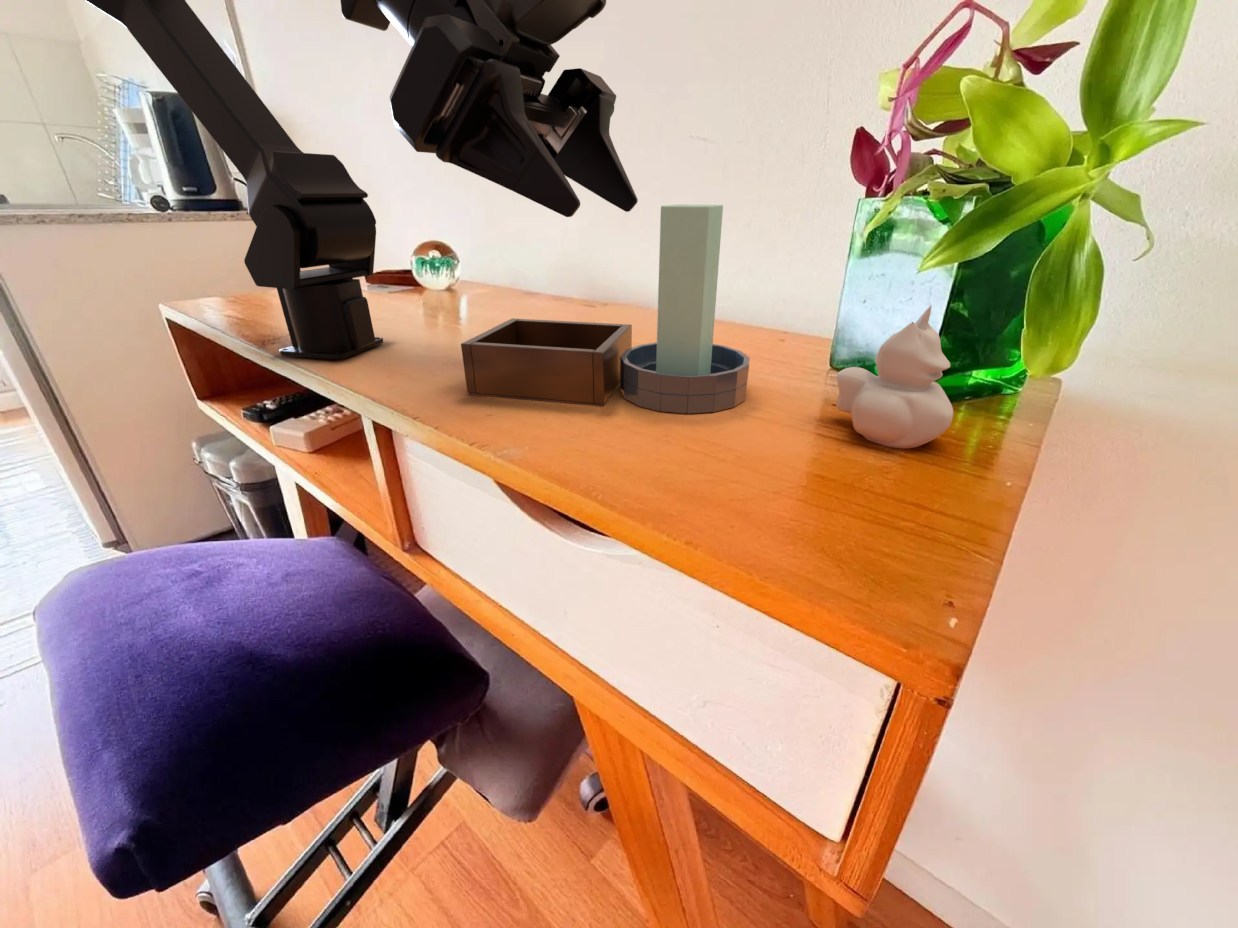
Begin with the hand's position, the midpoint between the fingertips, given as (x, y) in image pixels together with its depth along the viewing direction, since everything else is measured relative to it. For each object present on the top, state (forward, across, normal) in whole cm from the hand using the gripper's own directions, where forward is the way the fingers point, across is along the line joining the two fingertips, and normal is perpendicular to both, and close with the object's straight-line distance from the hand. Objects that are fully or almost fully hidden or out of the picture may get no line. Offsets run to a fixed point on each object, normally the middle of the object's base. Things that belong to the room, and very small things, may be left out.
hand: (607, 209), depth 36 cm
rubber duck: (+22, -3, -4) cm, 23 cm away
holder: (+6, -2, +11) cm, 13 cm away
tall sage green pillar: (+12, 0, +4) cm, 13 cm away
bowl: (+13, 0, +5) cm, 14 cm away
